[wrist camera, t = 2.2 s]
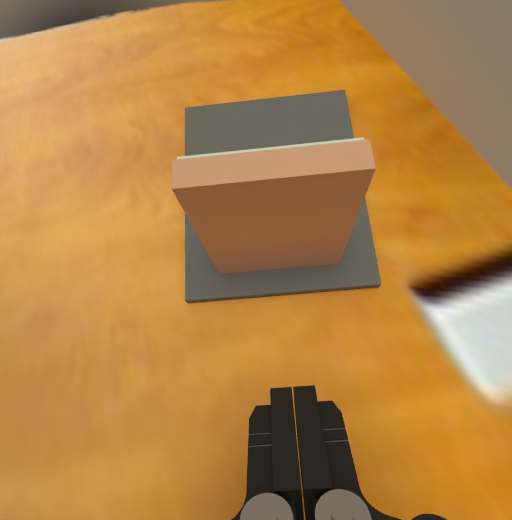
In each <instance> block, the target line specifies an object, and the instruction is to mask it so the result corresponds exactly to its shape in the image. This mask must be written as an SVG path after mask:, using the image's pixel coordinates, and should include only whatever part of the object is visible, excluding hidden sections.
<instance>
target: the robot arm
mask: <svg viewBox="0 0 512 520" xmlns="http://www.w3.org/2000/svg"><path fill="white" fill-rule="evenodd" d="M293 390H294V403H295V415H296V427H297V438H298V448H299V458H300V468H301V477H302V487H303V497H304V507H305V517H306V520H401V519H398V518H394V517H391V516H388V515H385V514H383V513H381V512H379V511H378V510H376V509H375V508H374V507H372V506H371V505H370V504H369V503H368V502H367V500H366V499H365V498H364V496H363V494H362V492H361V490H360V487H359V483H358V479H357V475H356V470H355V466H354V462H353V458H352V454H351V450H350V446H349V442H348V437H347V433H346V430H345V425H344V421H343V417H342V413H341V411H340V410H339V409H338V408H337V406H336V405H335V404H334V402H333V401H320V402H317V396H316V390H315V386H314V385H312V386H297V387H293ZM270 396H271V405H261V406H256V407H255V409H254V411H253V413H252V414H251V416H250V418H249V440H248V466H247V493H246V499H245V502H244V505H243V507H242V508H241V510H240V512H239V513H238V514H237V515H236V516H235V517H234V518H233V519H232V520H304V516H303V503H302V491H301V480H300V470H299V460H298V449H297V439H296V429H295V419H294V408H293V398H292V388H291V387H284V388H271V389H270ZM412 520H447V519H445V518H443V517H440V516H438V515H434V514H421V515H418V516H416V517H415V518H413V519H412Z"/></svg>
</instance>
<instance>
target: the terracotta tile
mask: <svg viewBox="0 0 512 520" xmlns="http://www.w3.org/2000/svg"><path fill="white" fill-rule="evenodd" d="M375 169H376V168H375V163H374V158H373V153H372V148H371V144H370V139H368V140H364V137H363V138H353V139H344V140H334V141H324V142H315V143H305V144H296V145H286V146H277V147H267V148H258V149H248V150H239V151H229V152H220V153H210V154H201V155H191V156H182V157H177V160H172V190H173V192H174V194H175V195H176V197H177V199H178V201H179V203H180V204H181V206H182V208H183V210H184V211H185V213H186V215H187V217H188V219H189V220H190V222H191V224H192V226H193V228H194V229H195V231H196V233H197V235H198V236H199V238H200V240H201V242H202V244H203V245H204V247H205V249H206V251H207V252H208V254H209V256H210V258H211V260H212V261H213V263H214V265H215V267H216V269H217V270H218V272H219V274H231V273H243V272H254V271H265V270H277V269H288V268H300V267H311V266H322V265H334V264H340V261H341V258H342V256H343V253H344V251H345V248H346V245H347V243H348V240H349V237H350V235H351V232H352V229H353V227H354V224H355V221H356V219H357V216H358V214H359V211H360V208H361V206H362V203H363V200H364V198H365V195H366V192H367V190H368V187H369V185H370V182H371V179H372V177H373V174H374V171H375Z"/></svg>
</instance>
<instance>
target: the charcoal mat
mask: <svg viewBox="0 0 512 520" xmlns="http://www.w3.org/2000/svg"><path fill="white" fill-rule="evenodd" d="M353 138H354V136H353V130H352V125H351V120H350V114H349V109H348V103H347V98H346V93H345V90H339V91H331V92H322V93H313V94H304V95H295V96H286V97H277V98H268V99H259V100H250V101H241V102H232V103H223V104H214V105H205V106H197V107H188V108H185V156H191V155H201V154H210V153H220V152H229V151H239V150H248V149H258V148H267V147H277V146H286V145H296V144H305V143H315V142H324V141H334V140H344V139H353ZM380 285H381V281H380V276H379V270H378V265H377V259H376V254H375V249H374V243H373V238H372V233H371V227H370V222H369V216H368V211H367V206H366V200H365V198H364V200H363V203H362V206H361V208H360V211H359V214H358V216H357V219H356V221H355V224H354V227H353V229H352V232H351V235H350V237H349V240H348V243H347V245H346V248H345V251H344V253H343V256H342V258H341V261H340V264H334V265H322V266H311V267H300V268H288V269H277V270H265V271H254V272H243V273H231V274H219V272H218V270H217V269H216V267H215V265H214V263H213V261H212V260H211V258H210V256H209V254H208V252H207V251H206V249H205V247H204V245H203V244H202V242H201V240H200V238H199V236H198V235H197V233H196V231H195V229H194V228H193V226H192V224H191V222H190V220H189V219H188V217H187V215H186V213H185V301H186V302H187V303H194V302H206V301H218V300H230V299H242V298H254V297H266V296H278V295H290V294H301V293H313V292H325V291H337V290H349V289H361V288H373V287H379V286H380Z"/></svg>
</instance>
